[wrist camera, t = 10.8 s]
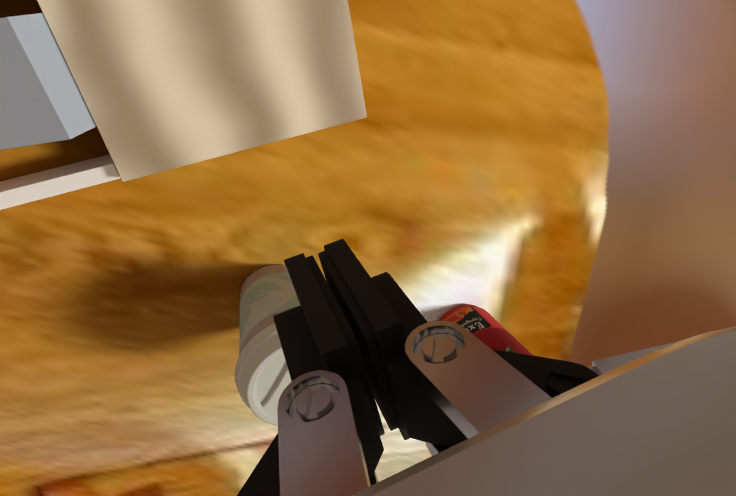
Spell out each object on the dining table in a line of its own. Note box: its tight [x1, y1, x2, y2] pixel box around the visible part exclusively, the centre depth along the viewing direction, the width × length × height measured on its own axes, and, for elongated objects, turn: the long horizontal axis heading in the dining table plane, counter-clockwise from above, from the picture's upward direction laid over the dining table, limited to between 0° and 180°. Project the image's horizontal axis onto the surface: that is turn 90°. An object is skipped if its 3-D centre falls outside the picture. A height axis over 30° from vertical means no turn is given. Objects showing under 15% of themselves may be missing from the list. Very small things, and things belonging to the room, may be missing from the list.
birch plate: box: [37, 0, 367, 182], centre depth 28 cm, size 16×12×4 cm
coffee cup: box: [235, 265, 300, 426], centre depth 35 cm, size 8×8×12 cm
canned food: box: [439, 305, 533, 356], centre depth 46 cm, size 8×8×11 cm
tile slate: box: [0, 13, 96, 150], centre depth 24 cm, size 6×6×2 cm
